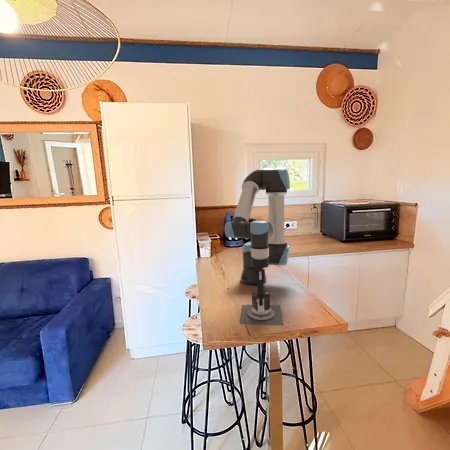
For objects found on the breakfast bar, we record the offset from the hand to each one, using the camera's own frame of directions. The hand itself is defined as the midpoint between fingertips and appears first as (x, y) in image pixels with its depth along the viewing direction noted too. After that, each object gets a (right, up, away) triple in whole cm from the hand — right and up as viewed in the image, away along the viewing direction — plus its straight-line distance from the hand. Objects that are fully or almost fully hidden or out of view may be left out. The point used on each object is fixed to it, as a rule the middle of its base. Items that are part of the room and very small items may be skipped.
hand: (260, 307), depth 121 cm
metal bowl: (0, -3, +1) cm, 3 cm away
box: (0, 0, 0) cm, 0 cm away
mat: (0, -4, +1) cm, 4 cm away
